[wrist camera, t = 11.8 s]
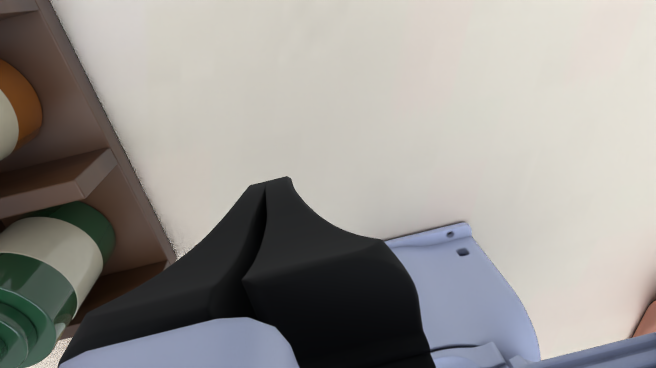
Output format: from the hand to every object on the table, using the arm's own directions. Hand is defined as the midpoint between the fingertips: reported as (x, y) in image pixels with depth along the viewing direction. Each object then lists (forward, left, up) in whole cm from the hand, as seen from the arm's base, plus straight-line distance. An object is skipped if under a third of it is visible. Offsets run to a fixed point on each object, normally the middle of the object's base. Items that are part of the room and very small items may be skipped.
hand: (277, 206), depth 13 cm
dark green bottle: (+13, +4, -9) cm, 17 cm away
